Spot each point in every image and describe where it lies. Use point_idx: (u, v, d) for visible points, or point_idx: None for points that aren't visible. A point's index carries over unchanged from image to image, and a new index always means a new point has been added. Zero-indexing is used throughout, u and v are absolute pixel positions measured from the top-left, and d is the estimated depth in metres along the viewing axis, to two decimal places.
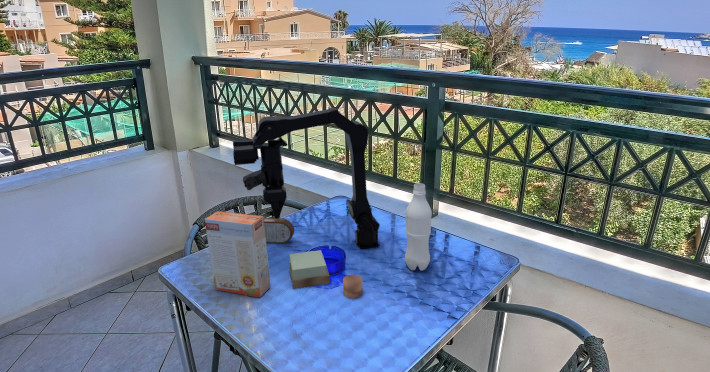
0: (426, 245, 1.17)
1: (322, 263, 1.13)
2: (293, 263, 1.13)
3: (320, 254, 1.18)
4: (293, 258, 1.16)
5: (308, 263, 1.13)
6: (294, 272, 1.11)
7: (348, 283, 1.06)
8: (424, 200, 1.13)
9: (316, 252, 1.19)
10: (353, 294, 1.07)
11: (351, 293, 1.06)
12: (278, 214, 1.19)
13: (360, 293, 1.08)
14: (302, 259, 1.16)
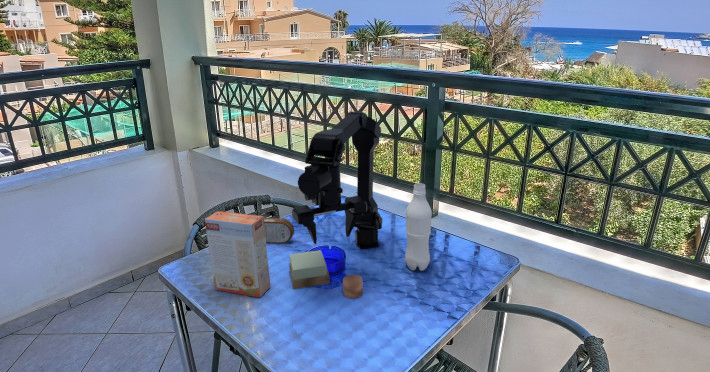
0: (426, 245, 1.17)
1: (323, 263, 1.13)
2: (293, 263, 1.13)
3: (320, 254, 1.18)
4: (293, 258, 1.16)
5: (308, 263, 1.13)
6: (294, 272, 1.11)
7: (348, 283, 1.06)
8: (424, 200, 1.13)
9: (316, 252, 1.19)
10: (353, 294, 1.07)
11: (351, 293, 1.06)
12: (313, 240, 1.06)
13: (360, 293, 1.08)
14: (302, 259, 1.16)
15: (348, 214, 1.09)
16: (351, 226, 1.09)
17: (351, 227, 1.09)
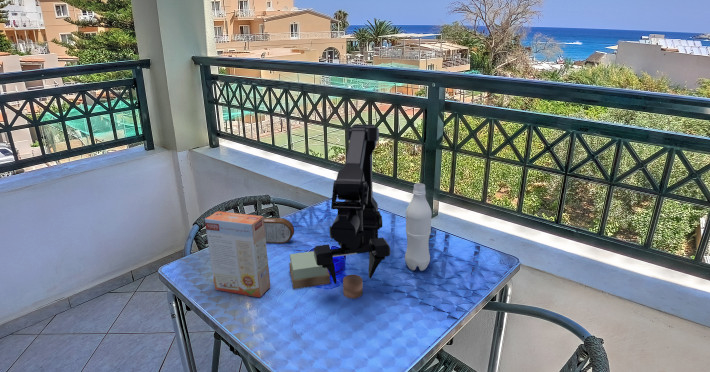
0: (426, 245, 1.17)
1: None
2: (293, 263, 1.13)
3: None
4: (293, 258, 1.16)
5: (309, 263, 1.13)
6: (295, 272, 1.11)
7: (348, 283, 1.06)
8: (424, 200, 1.13)
9: None
10: (353, 294, 1.07)
11: (351, 293, 1.06)
12: (333, 279, 1.06)
13: (360, 293, 1.08)
14: (302, 259, 1.16)
15: (371, 256, 1.07)
16: (373, 269, 1.06)
17: (373, 269, 1.07)
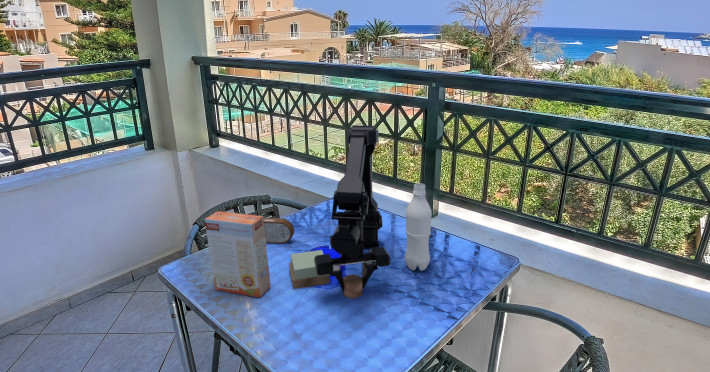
0: (426, 245, 1.17)
1: None
2: (295, 263, 1.13)
3: (321, 254, 1.18)
4: (294, 258, 1.16)
5: (310, 263, 1.13)
6: (296, 272, 1.11)
7: (348, 283, 1.06)
8: (424, 200, 1.13)
9: (317, 252, 1.19)
10: (354, 294, 1.07)
11: (351, 293, 1.06)
12: None
13: (360, 293, 1.08)
14: (303, 259, 1.16)
15: (364, 266, 1.08)
16: (366, 279, 1.07)
17: (366, 280, 1.07)
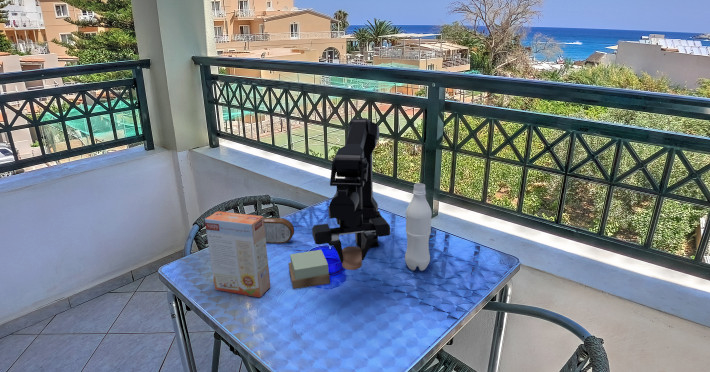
0: (426, 245, 1.17)
1: (324, 262, 1.13)
2: (295, 263, 1.13)
3: (321, 253, 1.18)
4: (294, 258, 1.16)
5: (310, 263, 1.13)
6: (296, 272, 1.11)
7: (347, 254, 1.03)
8: (424, 200, 1.13)
9: (317, 252, 1.19)
10: (353, 265, 1.04)
11: (350, 264, 1.04)
12: (339, 258, 1.04)
13: (359, 264, 1.05)
14: (303, 259, 1.16)
15: (363, 236, 1.05)
16: (365, 250, 1.04)
17: (365, 250, 1.04)
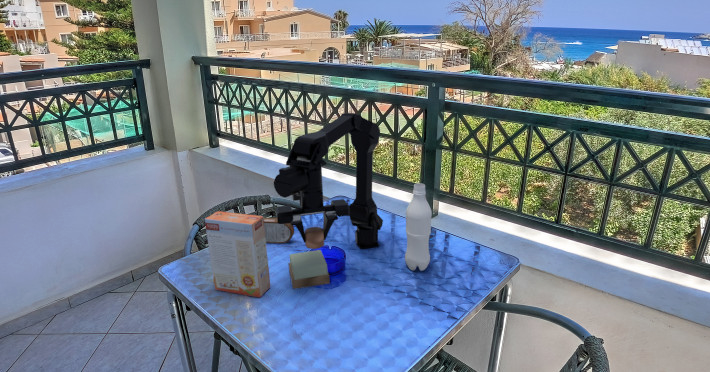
0: (426, 245, 1.17)
1: (323, 262, 1.13)
2: (294, 263, 1.13)
3: (320, 254, 1.18)
4: (293, 258, 1.16)
5: (309, 263, 1.13)
6: (295, 272, 1.11)
7: (309, 234, 1.09)
8: (424, 200, 1.13)
9: (316, 252, 1.19)
10: (315, 244, 1.09)
11: (312, 243, 1.09)
12: (302, 238, 1.10)
13: (321, 243, 1.10)
14: (302, 259, 1.16)
15: (324, 217, 1.10)
16: (326, 230, 1.10)
17: (326, 230, 1.10)
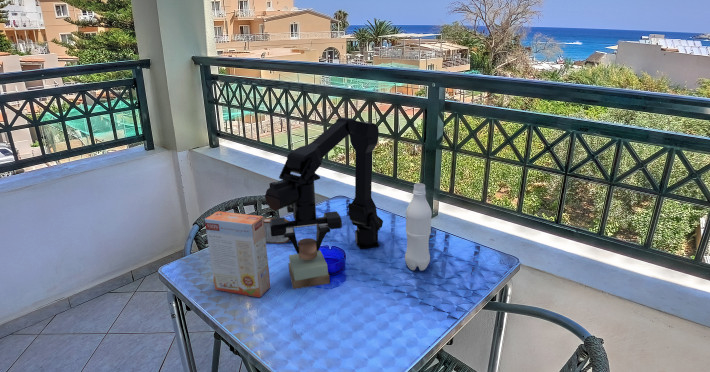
0: (426, 245, 1.17)
1: (323, 263, 1.13)
2: (294, 264, 1.13)
3: (320, 254, 1.18)
4: (293, 259, 1.16)
5: (309, 264, 1.13)
6: (296, 273, 1.10)
7: (302, 245, 1.12)
8: (424, 200, 1.13)
9: None
10: (307, 256, 1.12)
11: (305, 255, 1.12)
12: (295, 249, 1.13)
13: (314, 255, 1.13)
14: (302, 259, 1.15)
15: (317, 229, 1.13)
16: (319, 241, 1.13)
17: (319, 242, 1.13)
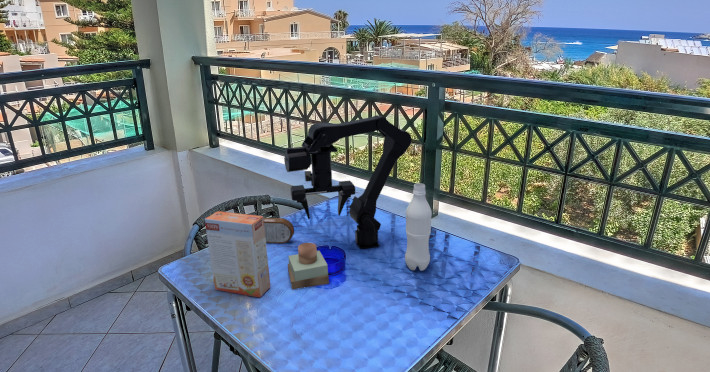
0: (426, 245, 1.17)
1: (323, 263, 1.13)
2: (294, 265, 1.13)
3: (319, 254, 1.18)
4: (293, 260, 1.16)
5: (309, 264, 1.13)
6: (296, 273, 1.10)
7: (303, 250, 1.12)
8: (424, 200, 1.13)
9: None
10: (308, 260, 1.13)
11: (305, 259, 1.13)
12: None
13: (314, 259, 1.14)
14: None
15: (339, 195, 1.26)
16: (341, 206, 1.25)
17: (341, 207, 1.25)
